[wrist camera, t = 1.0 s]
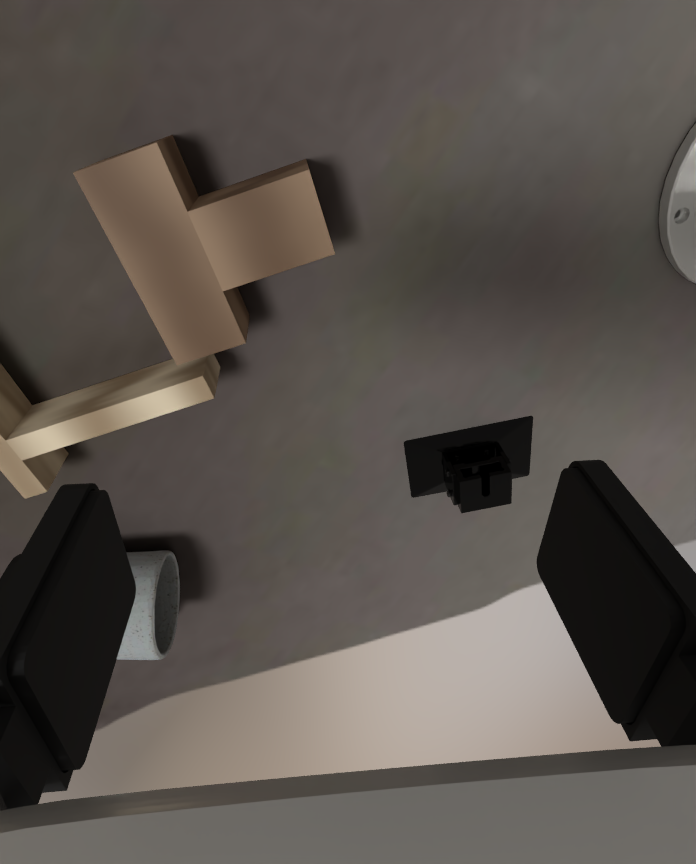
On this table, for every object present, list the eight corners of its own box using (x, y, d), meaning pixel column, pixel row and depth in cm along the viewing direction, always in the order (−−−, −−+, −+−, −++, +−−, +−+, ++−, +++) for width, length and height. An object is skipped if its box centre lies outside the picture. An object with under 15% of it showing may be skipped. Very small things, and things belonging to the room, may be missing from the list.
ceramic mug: (57, 535, 40) (15, 622, 33) (171, 528, 41) (151, 612, 34) (92, 626, 45) (62, 716, 39) (191, 618, 46) (177, 705, 40)
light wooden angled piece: (105, 133, 26) (81, 140, 23) (236, 399, 35) (232, 432, 32) (-139, 222, 27) (-197, 242, 24) (48, 460, 36) (25, 498, 33)
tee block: (285, 93, 26) (286, 95, 23) (344, 284, 32) (351, 308, 28) (98, 161, 27) (72, 172, 24) (187, 336, 32) (177, 365, 29)
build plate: (549, 399, 39) (579, 434, 35) (544, 477, 43) (570, 516, 39) (380, 432, 39) (392, 470, 35) (391, 507, 43) (403, 549, 39)
